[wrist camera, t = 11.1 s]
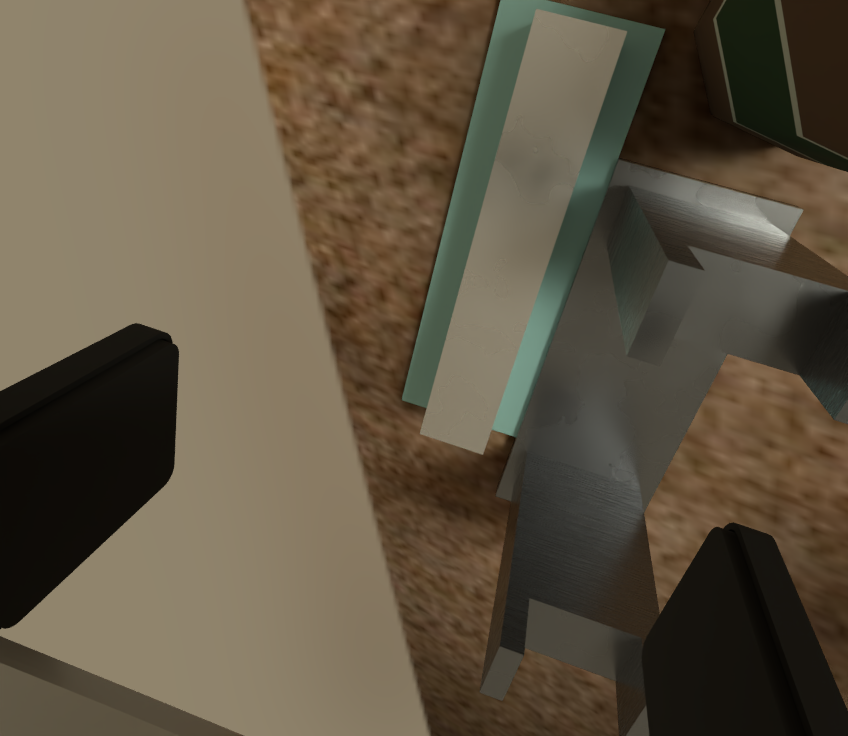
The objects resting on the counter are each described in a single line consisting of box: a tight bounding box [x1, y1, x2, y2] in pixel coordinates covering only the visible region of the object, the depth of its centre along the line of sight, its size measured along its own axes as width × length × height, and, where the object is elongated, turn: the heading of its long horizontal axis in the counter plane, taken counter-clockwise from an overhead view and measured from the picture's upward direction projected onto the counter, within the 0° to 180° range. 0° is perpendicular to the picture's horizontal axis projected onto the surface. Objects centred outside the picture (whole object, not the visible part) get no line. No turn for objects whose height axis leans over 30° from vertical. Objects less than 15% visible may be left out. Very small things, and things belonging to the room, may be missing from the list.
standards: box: [480, 158, 848, 736], centre depth 22 cm, size 7×17×12 cm, turn 167°
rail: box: [420, 9, 627, 455], centre depth 24 cm, size 3×17×3 cm, turn 167°
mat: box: [402, 0, 665, 437], centre depth 26 cm, size 6×18×1 cm, turn 167°
